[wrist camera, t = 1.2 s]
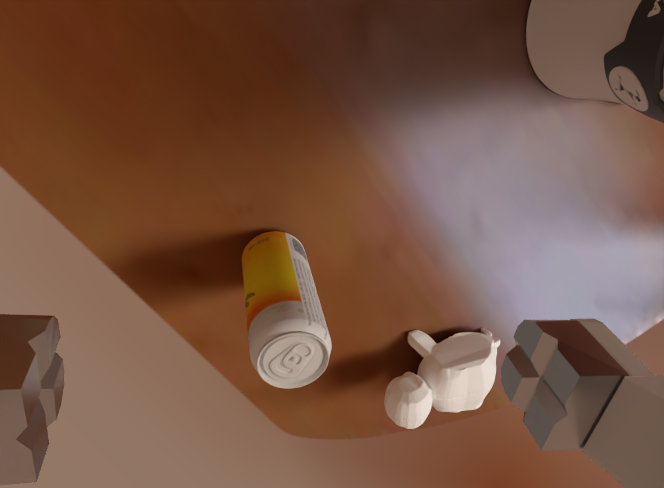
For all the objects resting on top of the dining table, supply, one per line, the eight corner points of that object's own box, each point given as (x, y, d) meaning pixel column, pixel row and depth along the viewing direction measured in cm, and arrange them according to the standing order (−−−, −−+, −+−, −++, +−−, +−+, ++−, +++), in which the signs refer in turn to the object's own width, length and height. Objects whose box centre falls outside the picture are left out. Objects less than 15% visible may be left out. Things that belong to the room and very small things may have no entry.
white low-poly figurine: (464, 303, 63) (362, 353, 56) (521, 343, 57) (414, 404, 50) (457, 357, 67) (362, 409, 61) (509, 399, 61) (410, 462, 54)
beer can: (228, 260, 50) (233, 371, 37) (268, 215, 49) (288, 315, 36) (277, 290, 53) (297, 403, 40) (316, 248, 51) (351, 352, 39)
